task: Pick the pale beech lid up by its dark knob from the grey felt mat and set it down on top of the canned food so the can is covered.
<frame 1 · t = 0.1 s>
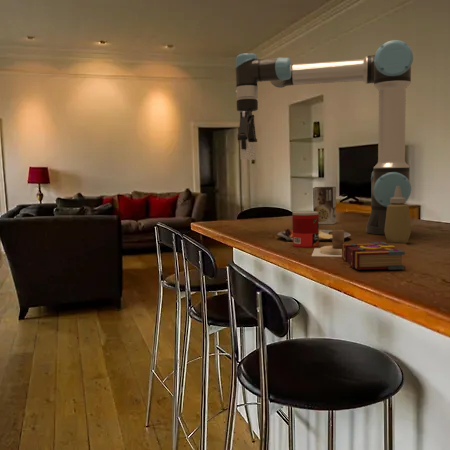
hand: (248, 159, 183), 28 cm above the table, tool pointing down, fingers open, 13 cm apart
decorative book: (370, 265, 127), on the table, touching mat
food plate: (313, 240, 176), on the table
canned food: (305, 248, 157), on the table
squeeze bottle: (397, 243, 161), on the table
mat: (338, 254, 143), on the table
coffee box: (324, 224, 223), on the table
lid: (338, 252, 143), point 1 cm above the table, touching mat
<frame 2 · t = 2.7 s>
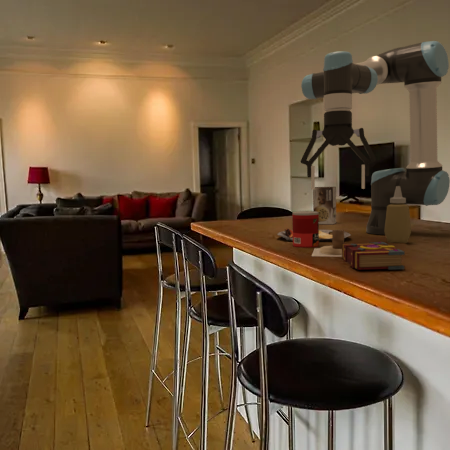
hand: (337, 189, 141), 18 cm above the table, tool pointing down, fingers open, 13 cm apart
nothing on the table moved.
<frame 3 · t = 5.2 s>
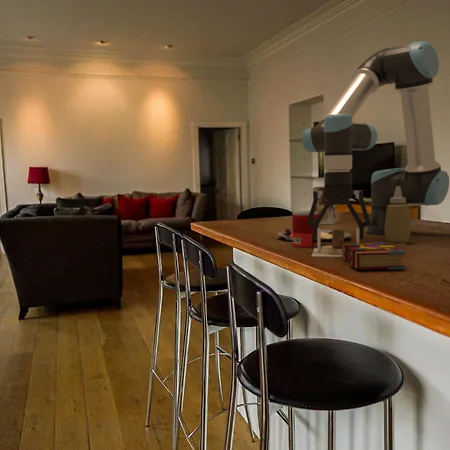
hand: (338, 250, 143), 1 cm above the table, tool pointing down, fingers closed on lid, 10 cm apart
lid: (338, 252, 143), point 1 cm above the table, touching gripper, mat
everything else where it was.
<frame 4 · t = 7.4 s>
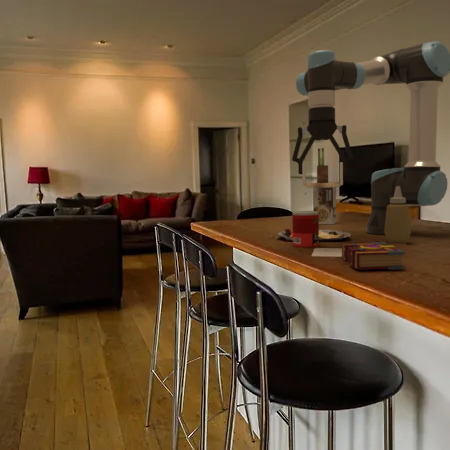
hand: (322, 185, 148), 19 cm above the table, tool pointing down, fingers closed on lid, 10 cm apart
lid: (322, 186, 148), point 19 cm above the table, touching gripper
everything else where it was.
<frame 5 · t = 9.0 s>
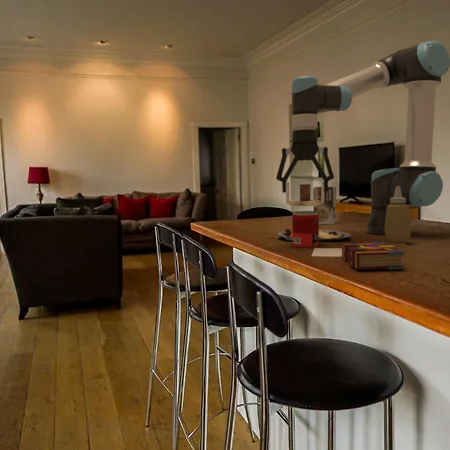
hand: (305, 203, 155), 14 cm above the table, tool pointing down, fingers closed on lid, 10 cm apart
lid: (305, 204, 155), point 13 cm above the table, touching gripper
everything else where it was.
when the fingers open (13 cm above the table, at t = 10.1 s): lid drops 1 cm, resting on canned food.
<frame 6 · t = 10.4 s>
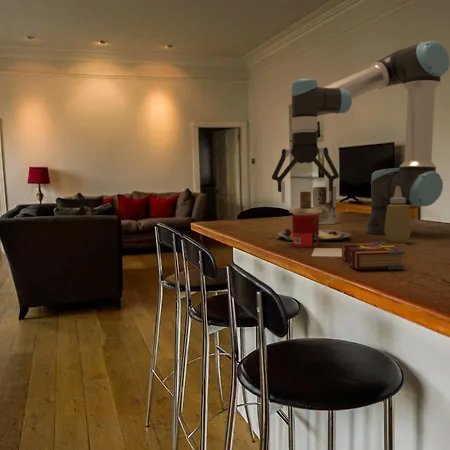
hand: (305, 202, 155), 14 cm above the table, tool pointing down, fingers open, 13 cm apart
canned food: (305, 248, 157), on the table, touching lid
lid: (305, 212, 156), point 11 cm above the table, touching canned food
everything else where it was.
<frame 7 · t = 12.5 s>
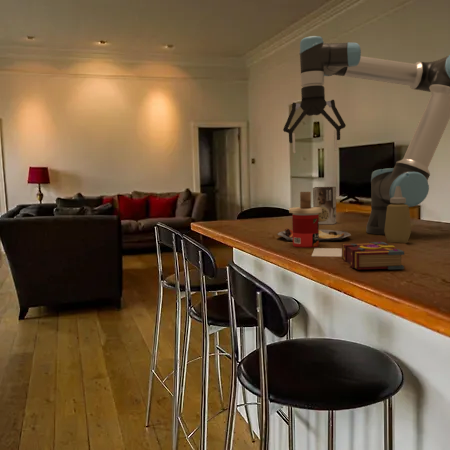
hand: (314, 151, 169), 30 cm above the table, tool pointing down, fingers open, 13 cm apart
nothing on the table moved.
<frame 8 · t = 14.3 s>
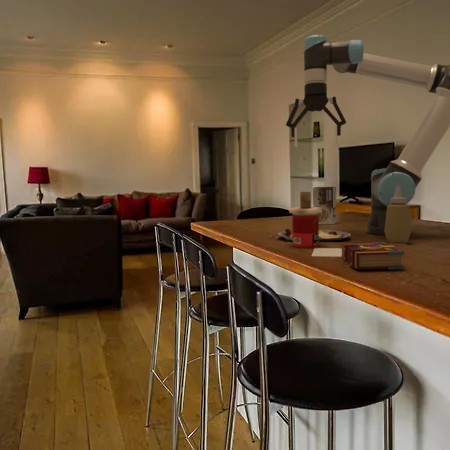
hand: (315, 146, 175), 32 cm above the table, tool pointing down, fingers open, 13 cm apart
nothing on the table moved.
at the end: lid 0.1 cm from the canned food (horizontally); lid point 10.9 cm above the table; canned food tilted 0° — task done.
